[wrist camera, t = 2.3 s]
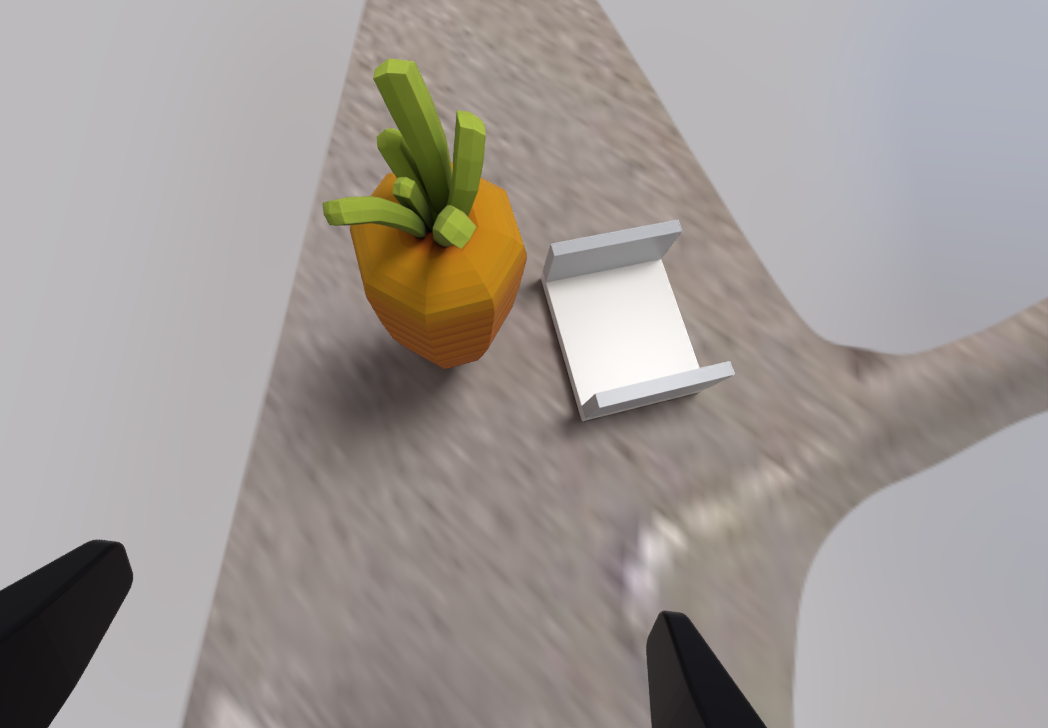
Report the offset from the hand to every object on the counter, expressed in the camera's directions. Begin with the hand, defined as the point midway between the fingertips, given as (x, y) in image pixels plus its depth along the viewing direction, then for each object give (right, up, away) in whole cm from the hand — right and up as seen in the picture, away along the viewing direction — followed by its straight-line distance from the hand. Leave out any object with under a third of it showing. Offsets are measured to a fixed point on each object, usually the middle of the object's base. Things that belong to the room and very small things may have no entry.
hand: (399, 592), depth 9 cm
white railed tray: (+7, +5, +16) cm, 18 cm away
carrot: (-1, +4, +16) cm, 16 cm away
